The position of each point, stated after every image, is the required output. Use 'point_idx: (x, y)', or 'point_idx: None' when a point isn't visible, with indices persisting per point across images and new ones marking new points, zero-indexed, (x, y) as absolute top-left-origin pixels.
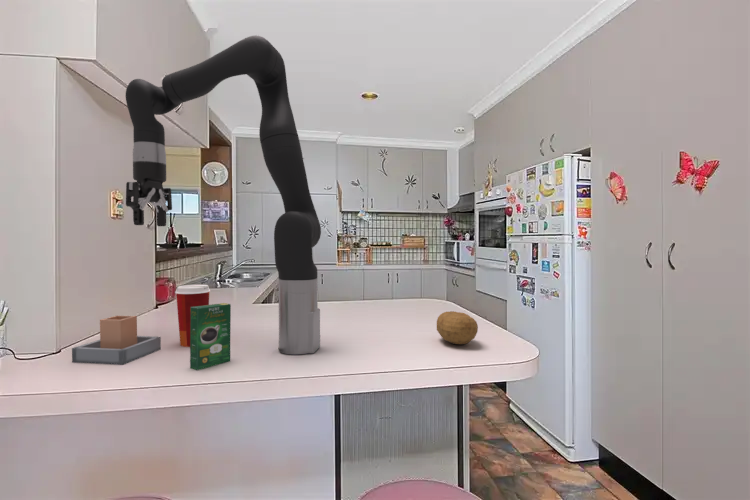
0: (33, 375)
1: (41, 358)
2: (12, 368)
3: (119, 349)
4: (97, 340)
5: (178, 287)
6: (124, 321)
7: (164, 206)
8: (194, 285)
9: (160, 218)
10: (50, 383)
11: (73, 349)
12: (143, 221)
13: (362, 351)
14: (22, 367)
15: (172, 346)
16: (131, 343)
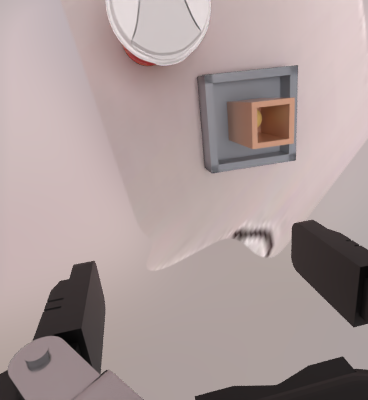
0: (325, 159)
1: (264, 224)
2: (304, 213)
3: (293, 76)
4: (250, 166)
5: (202, 27)
6: (282, 98)
7: (71, 378)
8: (143, 9)
9: (95, 318)
10: (348, 107)
11: (294, 157)
12: (310, 226)
13: None
14: (300, 206)
15: (162, 81)
16: (246, 100)
